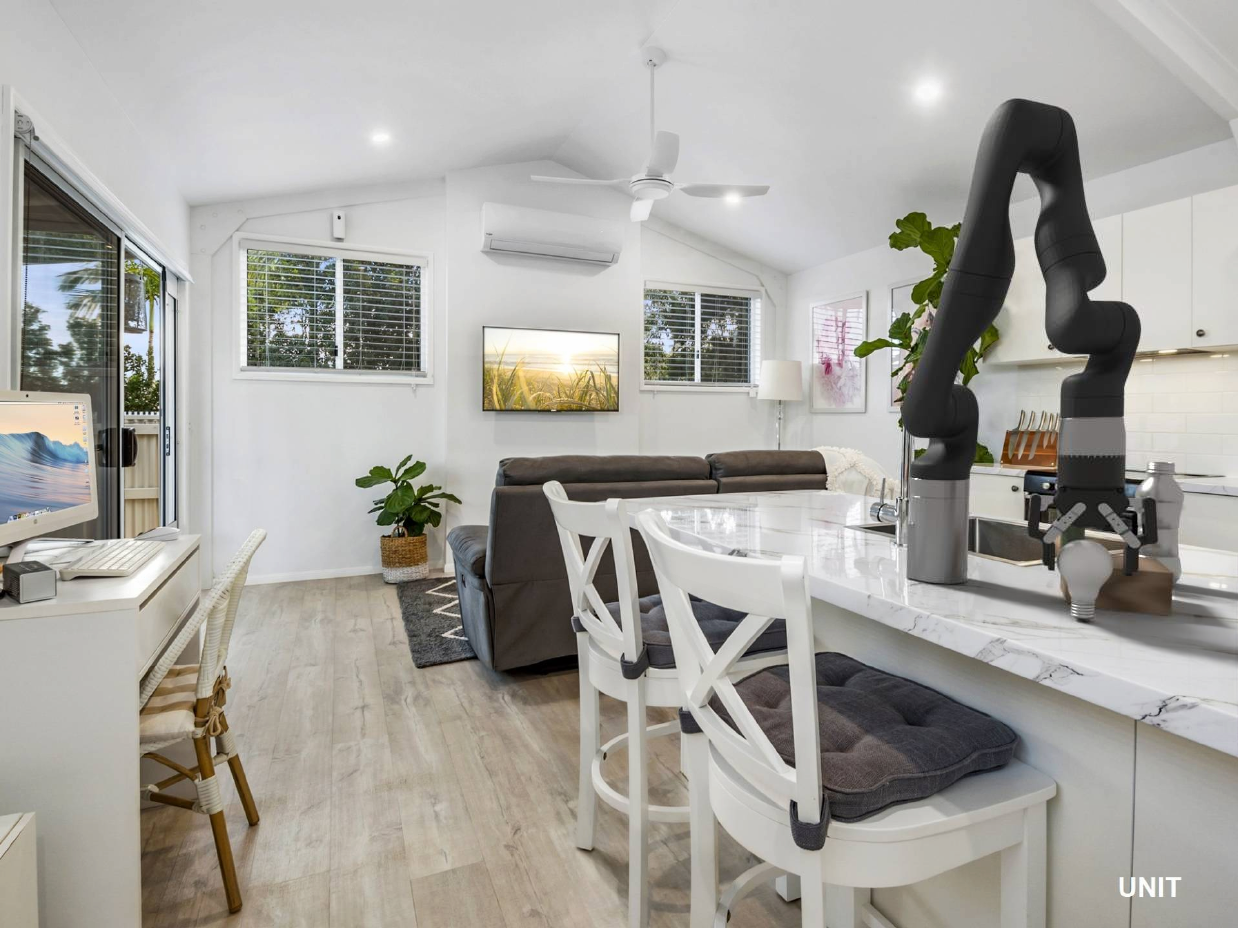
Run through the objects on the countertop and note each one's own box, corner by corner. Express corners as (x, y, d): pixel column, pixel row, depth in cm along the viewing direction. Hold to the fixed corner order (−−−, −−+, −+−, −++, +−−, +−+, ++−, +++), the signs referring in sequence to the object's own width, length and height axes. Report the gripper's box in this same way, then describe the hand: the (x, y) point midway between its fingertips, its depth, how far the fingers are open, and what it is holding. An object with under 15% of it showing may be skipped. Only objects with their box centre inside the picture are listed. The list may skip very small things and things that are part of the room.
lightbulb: (1044, 613, 96) (1047, 535, 95) (1090, 613, 96) (1093, 535, 95) (1073, 627, 90) (1076, 544, 89) (1122, 627, 89) (1126, 544, 89)
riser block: (1067, 605, 100) (1069, 564, 100) (1060, 587, 111) (1061, 550, 110) (1171, 615, 94) (1173, 573, 94) (1152, 595, 105) (1154, 557, 105)
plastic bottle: (1138, 586, 111) (1143, 463, 110) (1125, 577, 117) (1130, 461, 116) (1187, 590, 108) (1193, 464, 107) (1171, 580, 115) (1177, 461, 113)
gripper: (1030, 453, 91) (1028, 573, 92) (1164, 453, 85) (1161, 583, 85) (1027, 451, 98) (1025, 563, 99) (1151, 451, 91) (1148, 571, 92)
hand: (1088, 572), depth 92 cm, fingers open, 8 cm apart
